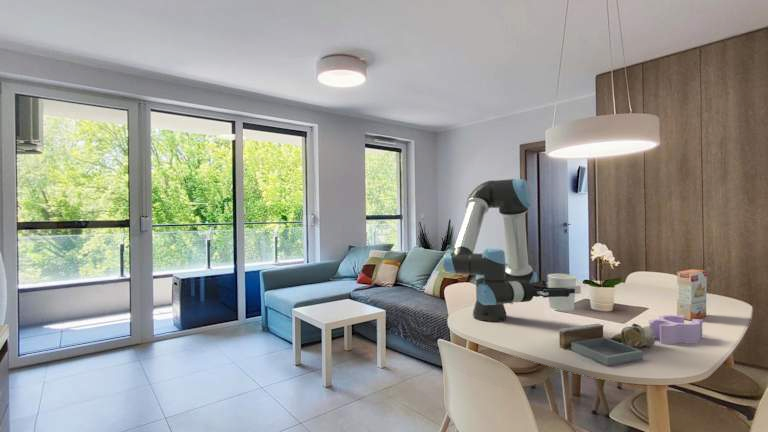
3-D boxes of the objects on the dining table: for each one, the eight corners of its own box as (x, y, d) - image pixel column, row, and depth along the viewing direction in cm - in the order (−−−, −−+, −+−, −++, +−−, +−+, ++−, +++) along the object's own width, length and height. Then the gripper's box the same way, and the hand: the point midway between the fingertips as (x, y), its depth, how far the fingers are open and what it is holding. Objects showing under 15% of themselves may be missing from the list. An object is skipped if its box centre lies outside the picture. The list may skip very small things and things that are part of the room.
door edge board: (559, 346, 140) (558, 328, 140) (598, 340, 145) (598, 323, 145) (564, 349, 138) (563, 330, 137) (603, 342, 143) (603, 325, 143)
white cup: (552, 302, 151) (552, 272, 151) (579, 307, 145) (579, 275, 144) (543, 308, 144) (543, 276, 143) (571, 313, 137) (572, 279, 137)
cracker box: (692, 321, 167) (691, 273, 166) (676, 318, 172) (675, 271, 172) (707, 316, 173) (707, 270, 173) (692, 313, 179) (691, 268, 178)
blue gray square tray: (571, 350, 136) (571, 342, 136) (604, 345, 141) (604, 337, 141) (607, 366, 122) (607, 357, 122) (643, 360, 126) (643, 351, 126)
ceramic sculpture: (664, 325, 134) (626, 331, 132) (666, 349, 134) (628, 356, 132) (639, 317, 145) (603, 322, 142) (641, 340, 145) (605, 345, 142)
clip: (673, 347, 137) (672, 328, 137) (639, 337, 149) (639, 319, 149) (710, 340, 144) (709, 321, 144) (675, 330, 156) (675, 313, 156)
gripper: (501, 295, 149) (550, 291, 155) (538, 309, 128) (593, 303, 135) (501, 276, 149) (550, 272, 155) (538, 286, 128) (592, 282, 134)
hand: (570, 287), depth 145 cm, fingers closed on white cup, 9 cm apart
